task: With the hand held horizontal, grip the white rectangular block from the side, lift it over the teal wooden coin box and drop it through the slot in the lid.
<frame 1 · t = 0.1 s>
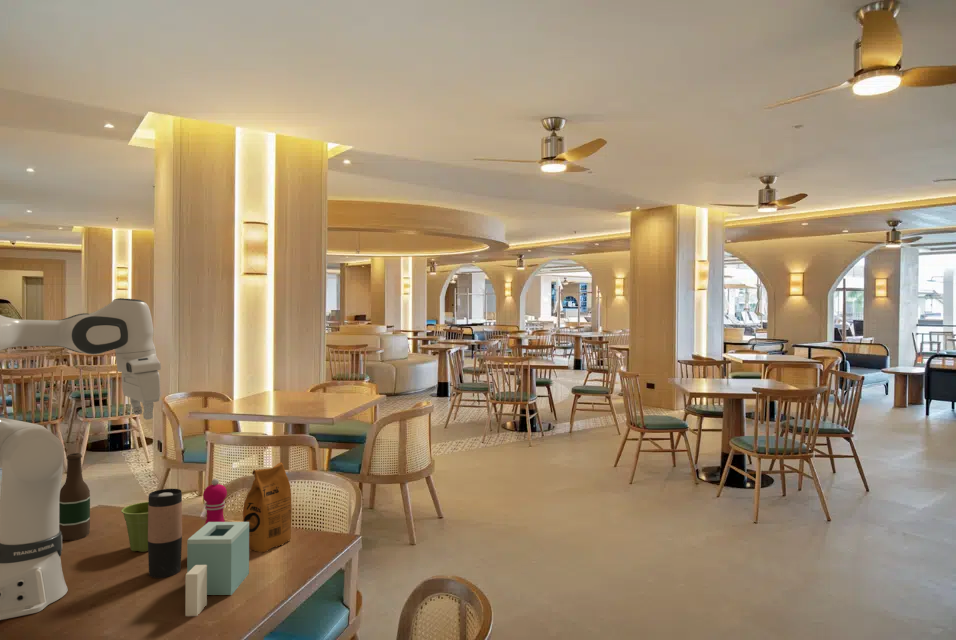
hand: (143, 416, 154), 39 cm above the table, tool pointing down, fingers open, 8 cm apart
white rectangular block: (196, 610, 133), on the table
coffee package: (267, 544, 172), on the table
beer bottle: (74, 537, 177), on the table
plant pot: (145, 548, 169), on the table
pepper mill: (214, 552, 166), on the table
coin box: (219, 584, 146), on the table
travel mug: (164, 572, 153), on the table
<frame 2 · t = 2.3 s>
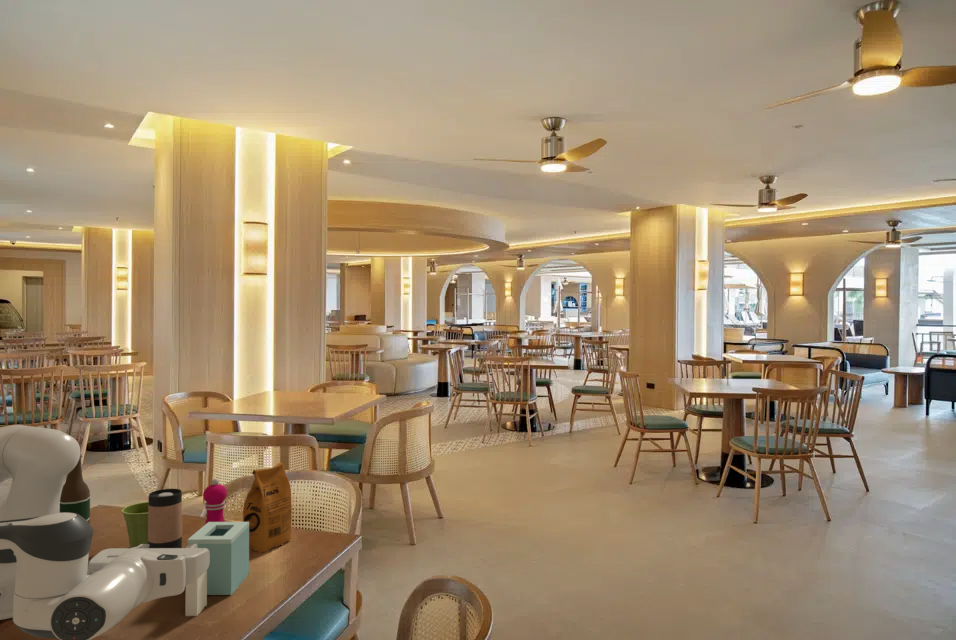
hand: (169, 547, 121), 18 cm above the table, tool horizontal, fingers open, 8 cm apart
nothing on the table moved.
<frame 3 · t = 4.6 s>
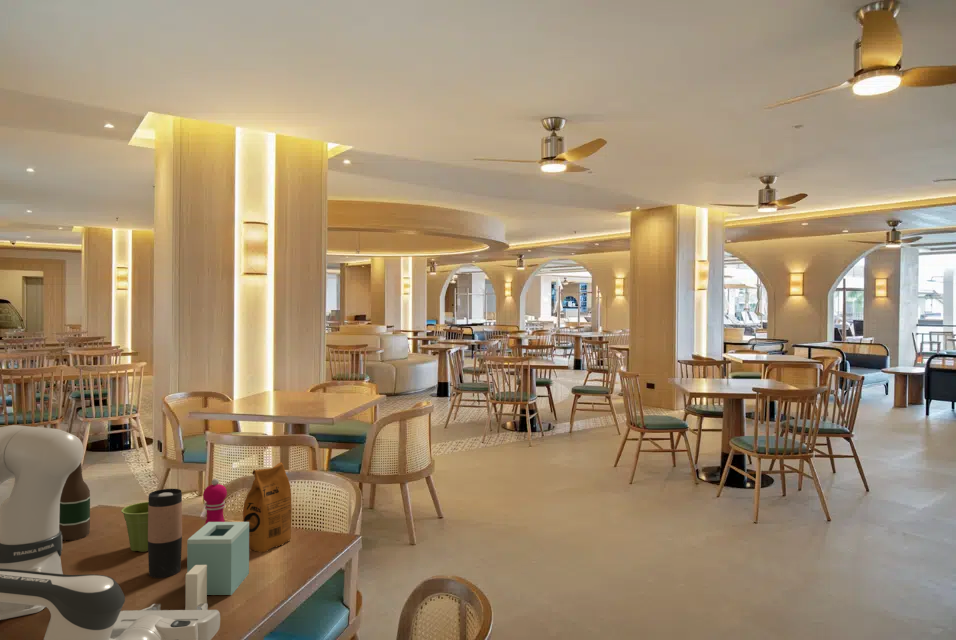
hand: (180, 607, 125), 5 cm above the table, tool horizontal, fingers open, 8 cm apart
nothing on the table moved.
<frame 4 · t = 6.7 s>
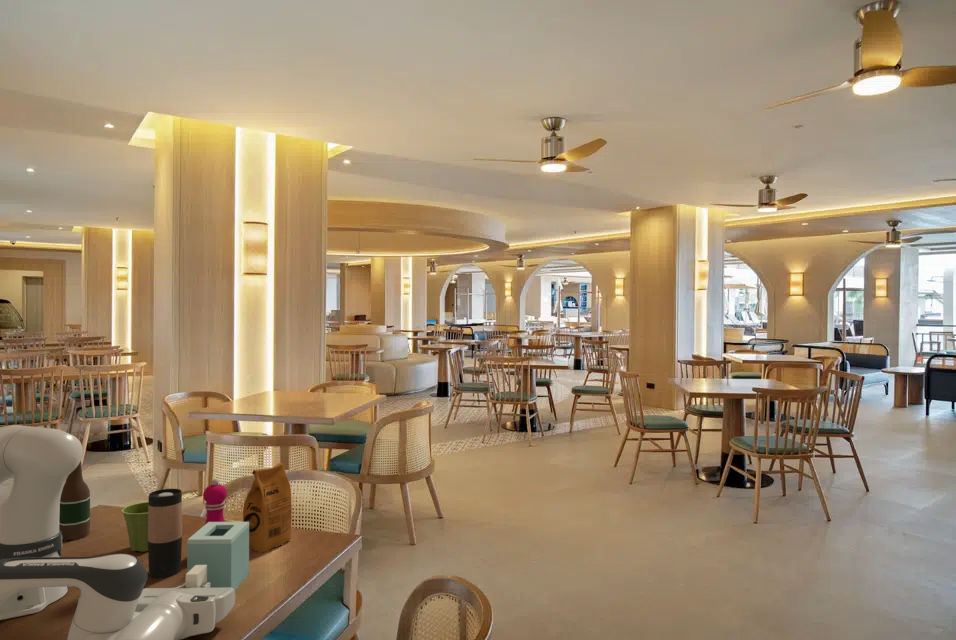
hand: (198, 585, 134), 5 cm above the table, tool horizontal, fingers closed on white rectangular block, 3 cm apart
white rectangular block: (196, 610, 133), on the table, touching gripper
everything else where it was.
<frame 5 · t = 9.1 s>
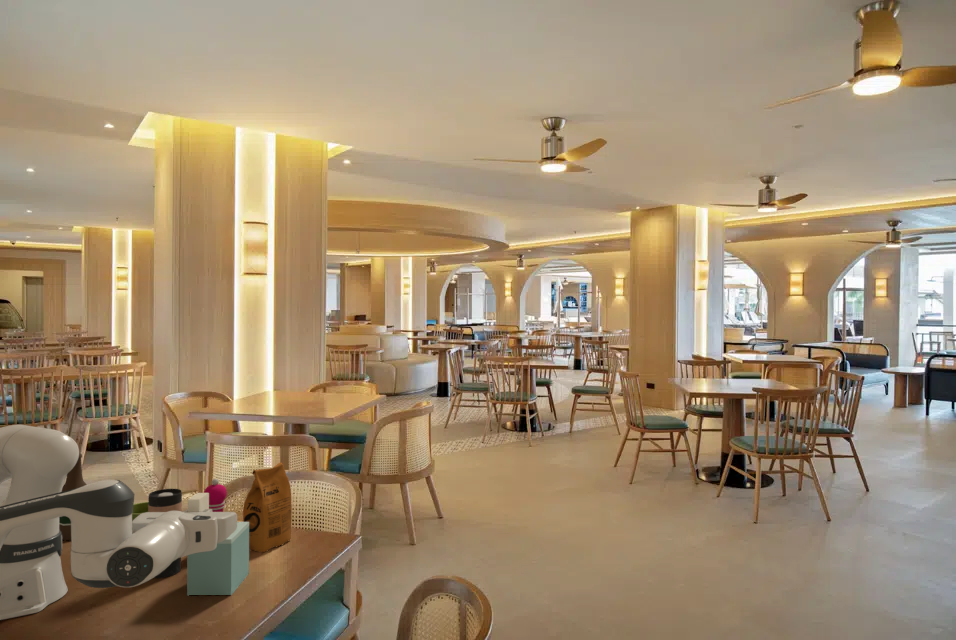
hand: (200, 512, 135), 21 cm above the table, tool horizontal, fingers closed on white rectangular block, 2 cm apart
white rectangular block: (198, 536, 134), point 16 cm above the table, touching gripper
everything else where it was.
when the fingers open (20 cm above the table, at t = 11.0 s): white rectangular block drops 13 cm, resting on coin box.
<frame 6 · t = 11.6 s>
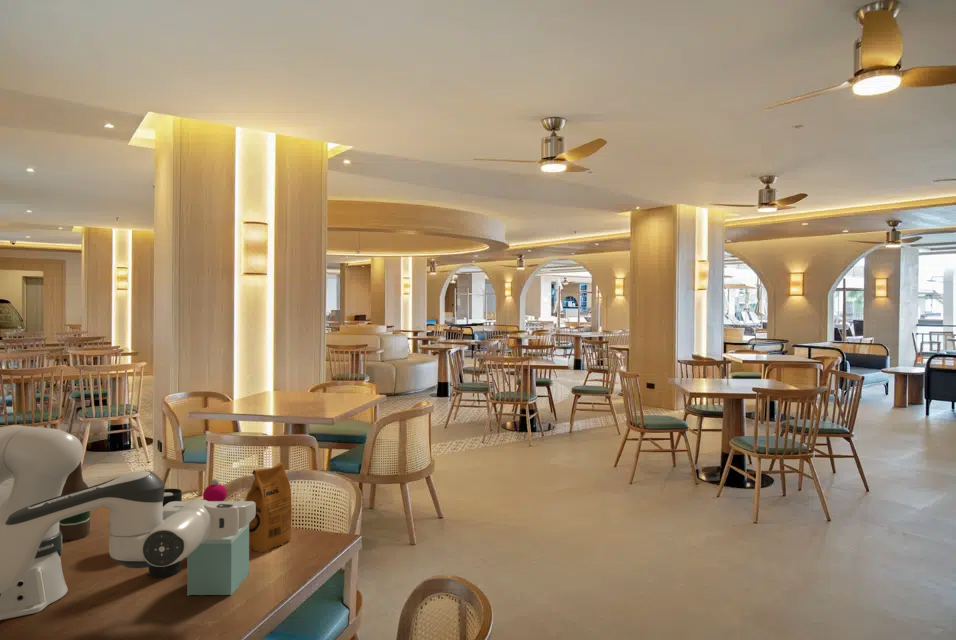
hand: (221, 502, 147), 20 cm above the table, tool horizontal, fingers open, 8 cm apart
white rectangular block: (218, 580, 146), point 1 cm above the table, tilted 20°, touching coin box
everything else where it was.
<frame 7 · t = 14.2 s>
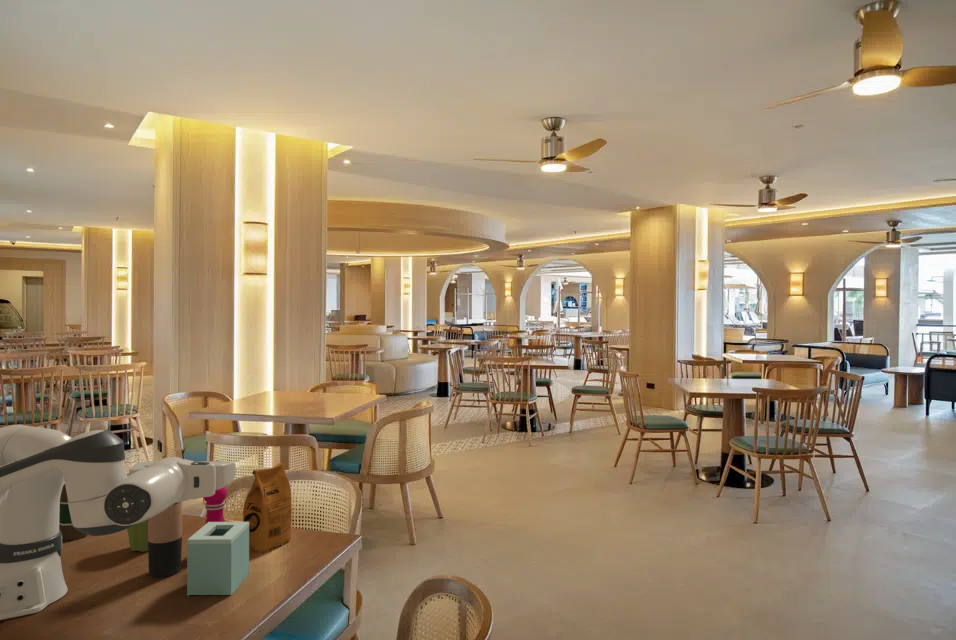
hand: (198, 464, 134), 32 cm above the table, tool horizontal, fingers open, 8 cm apart
nothing on the table moved.
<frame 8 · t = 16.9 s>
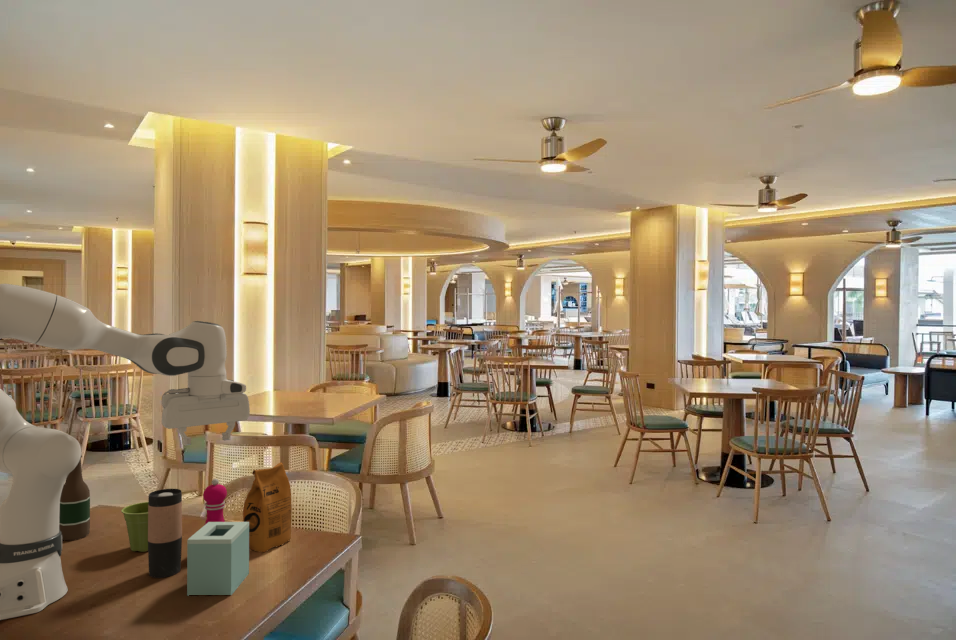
hand: (206, 442, 151), 33 cm above the table, tool pointing down, fingers open, 8 cm apart
nothing on the table moved.
at the end: white rectangular block 0.1 cm from the coin box (horizontally); white rectangular block point 1.0 cm above the table; the gripper is holding nothing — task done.
